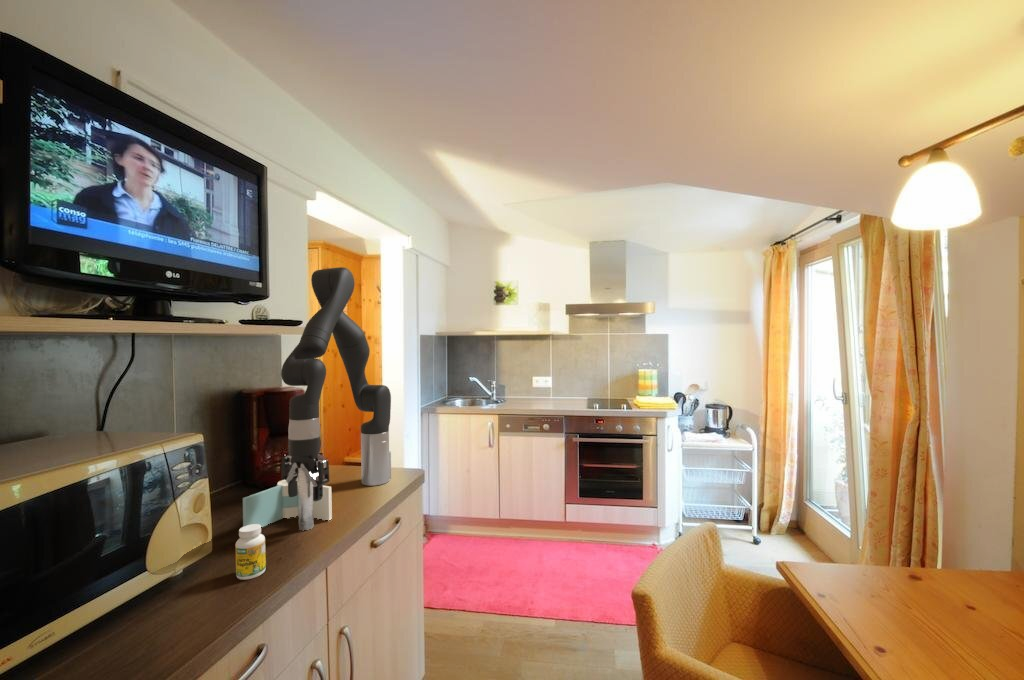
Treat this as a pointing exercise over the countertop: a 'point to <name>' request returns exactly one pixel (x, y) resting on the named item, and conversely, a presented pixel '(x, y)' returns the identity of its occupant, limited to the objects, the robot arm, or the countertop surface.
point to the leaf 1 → (266, 506)
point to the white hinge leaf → (319, 507)
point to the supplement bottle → (250, 552)
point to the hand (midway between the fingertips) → (305, 498)
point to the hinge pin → (305, 501)
